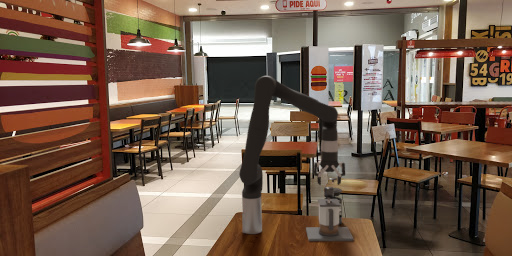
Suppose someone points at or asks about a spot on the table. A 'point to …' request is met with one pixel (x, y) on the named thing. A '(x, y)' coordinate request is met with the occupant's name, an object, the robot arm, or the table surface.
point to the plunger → (328, 193)
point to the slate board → (315, 236)
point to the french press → (337, 193)
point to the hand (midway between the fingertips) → (329, 184)
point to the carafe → (329, 217)
